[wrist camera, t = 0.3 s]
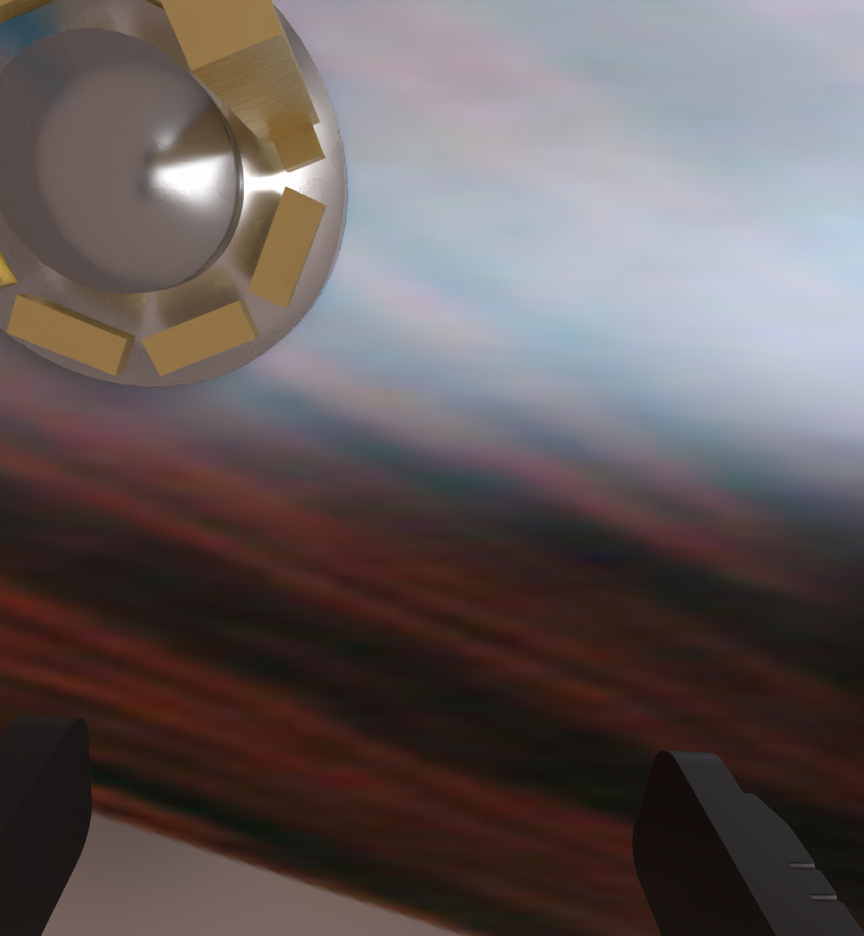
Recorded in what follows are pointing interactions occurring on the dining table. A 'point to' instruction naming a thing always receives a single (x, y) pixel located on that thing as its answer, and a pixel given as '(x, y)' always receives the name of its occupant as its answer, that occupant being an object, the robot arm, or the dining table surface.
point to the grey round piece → (145, 184)
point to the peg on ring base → (272, 120)
